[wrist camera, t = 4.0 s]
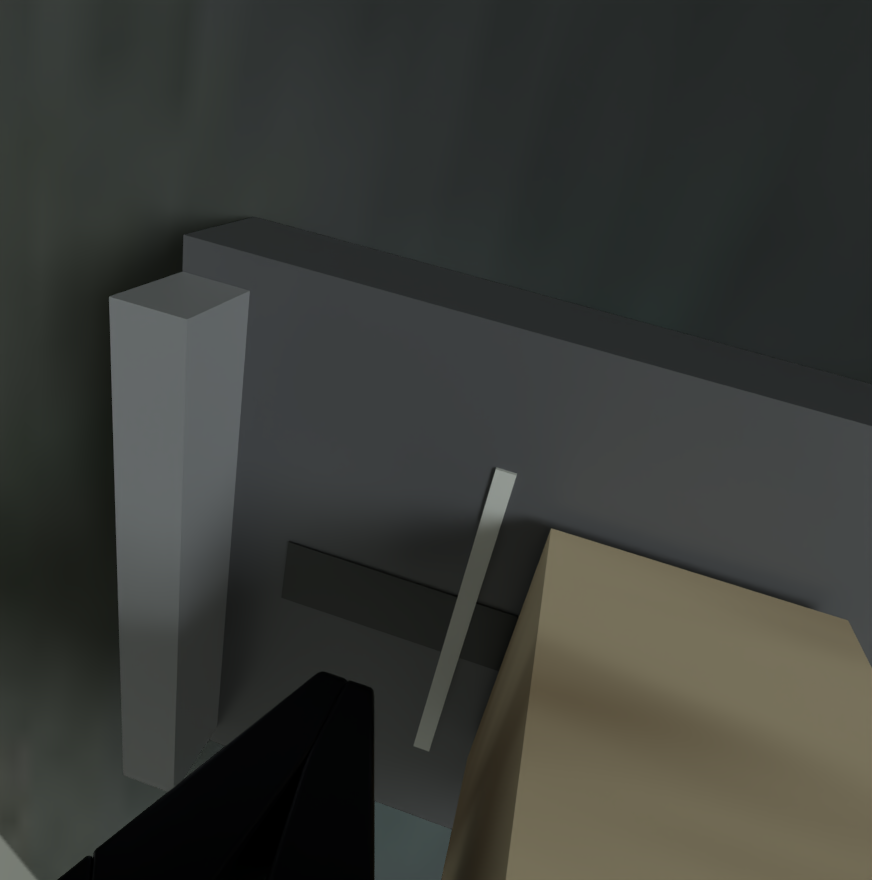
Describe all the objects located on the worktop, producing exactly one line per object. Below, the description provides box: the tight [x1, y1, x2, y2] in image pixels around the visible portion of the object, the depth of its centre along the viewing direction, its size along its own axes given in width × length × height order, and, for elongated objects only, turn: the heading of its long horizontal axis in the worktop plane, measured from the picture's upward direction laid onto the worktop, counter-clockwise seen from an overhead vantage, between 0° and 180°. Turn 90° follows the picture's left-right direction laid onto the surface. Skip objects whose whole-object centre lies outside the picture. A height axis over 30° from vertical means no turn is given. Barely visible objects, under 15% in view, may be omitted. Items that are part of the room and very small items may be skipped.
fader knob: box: [441, 528, 872, 880], centre depth 8 cm, size 5×4×5 cm
